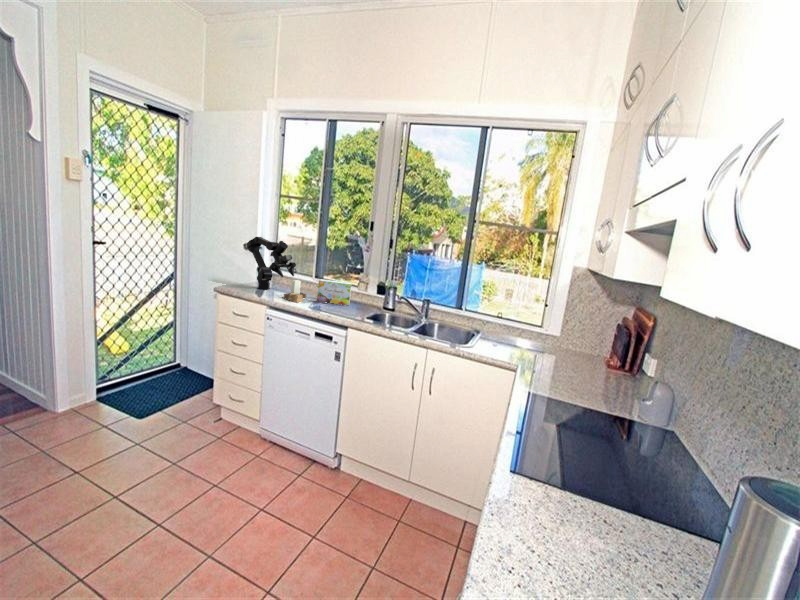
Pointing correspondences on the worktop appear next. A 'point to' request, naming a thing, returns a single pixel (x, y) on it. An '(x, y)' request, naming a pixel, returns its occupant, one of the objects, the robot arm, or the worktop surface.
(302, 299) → the block
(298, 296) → the offcut top
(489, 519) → the worktop surface
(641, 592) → the worktop surface
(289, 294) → the frame
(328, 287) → the snack box
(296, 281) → the white rectangular block
